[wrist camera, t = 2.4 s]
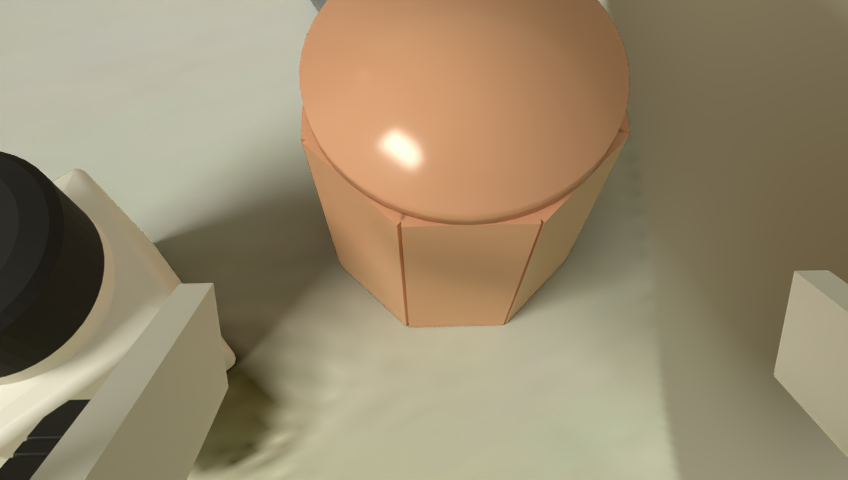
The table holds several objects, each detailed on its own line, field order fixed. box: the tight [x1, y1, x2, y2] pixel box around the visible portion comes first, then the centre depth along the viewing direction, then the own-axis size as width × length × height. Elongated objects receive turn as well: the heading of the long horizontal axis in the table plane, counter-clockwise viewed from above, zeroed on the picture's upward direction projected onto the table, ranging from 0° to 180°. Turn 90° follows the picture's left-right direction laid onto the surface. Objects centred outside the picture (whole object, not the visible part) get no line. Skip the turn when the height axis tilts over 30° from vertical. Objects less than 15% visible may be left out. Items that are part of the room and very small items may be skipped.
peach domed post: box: [300, 0, 630, 327], centre depth 26 cm, size 10×10×11 cm
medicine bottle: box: [0, 152, 236, 461], centre depth 23 cm, size 7×7×12 cm
